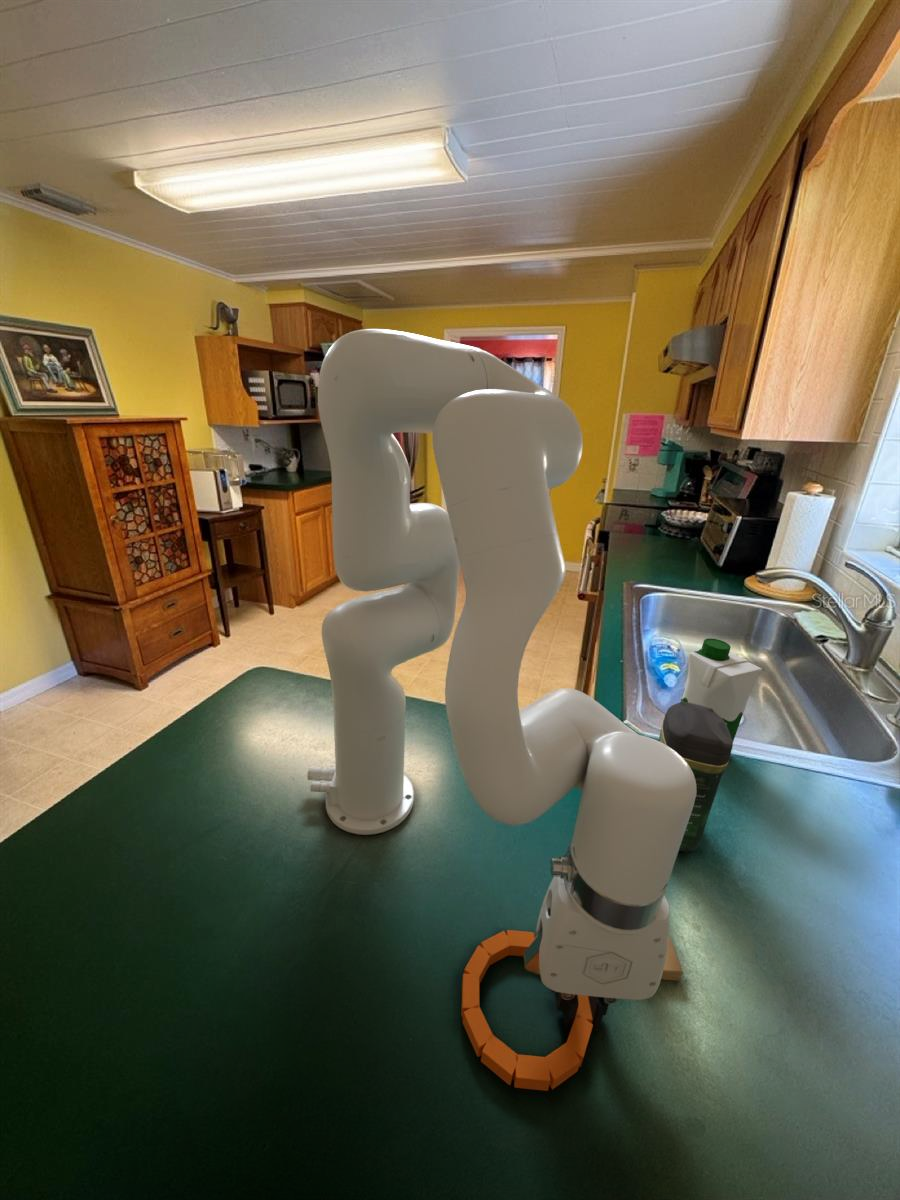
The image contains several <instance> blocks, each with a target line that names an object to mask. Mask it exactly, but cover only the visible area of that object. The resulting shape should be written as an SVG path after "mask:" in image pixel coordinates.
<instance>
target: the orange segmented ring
mask: <svg viewBox="0 0 900 1200" xmlns="http://www.w3.org/2000/svg"><path fill="white" fill-rule="evenodd" d="M536 938H537V937H536V936H535V932H533V931H523V930H512V929H507V930H506V932H505V930H502V931H501V932H498V933H496V934H495V935H493V936H490V937H489V938H486V939H485V940H482V941H481V942H480V945H479V944H478V945H477V947H476V948H475V951H474V952H473V954H472V955H471V957H470V959H469V961H468V963H467V964H466V966H465V968H464V971H463V974H462V982H461V1014H460V1016H461V1018H462V1025H463V1027H464V1029H465V1031H466V1034H467V1036H468V1039H469V1040H470V1043H471V1045H472V1047H473V1050H474V1052H475V1054H476V1057H477V1058H479V1057H480V1063H482V1064H483V1065H485V1066H486V1067H487V1068H488V1069H489V1070H491V1071H492V1072H493V1073H494V1074H495V1075H496V1076H497V1077H499V1078H500V1079H501V1080H502V1081H504V1082H505V1083H506V1085H508V1086H511V1084H512V1082H513V1087H514V1088H516V1089H524V1090H533V1091H534V1090H535V1091H543V1092H545V1091H546V1092H548V1091H549V1088H551V1090H554V1089H555V1088H556V1087H559V1086H560V1085H561V1084H562V1083H564V1082H566V1080H568V1079H569V1078H571V1077H572V1076H573V1075H574V1074H576V1073H577V1072H578V1071H579V1068H581V1067H582V1064H583V1061H584V1058H585V1054H586V1051H587V1047H588V1044H589V1040H590V1037H591V1034H592V1031H593V1030H592V1028H593V1024H592V1021H593V1019H592V1014H591V1008H590V1003H589V998H588V996H585V995H577V996H578V1002H579V1005H578V1009H577V1013H576V1017H575V1019H574V1022H573V1025H572V1026H571V1028H570V1031H569V1034H568V1037H567V1041H566V1042H565V1043H564V1044H562V1045H561V1046H559V1047H558V1048H556V1049H555V1050H553V1051H552V1052H550V1053H549V1054H547V1055H546V1056H538V1055H529V1054H528V1055H527V1054H518V1053H516V1052H515V1051H514V1050H513V1049H511V1047H509V1046H508V1045H507V1044H505V1043H504V1042H503V1041H502V1040H500V1039H499V1038H497V1036H495V1035H494V1034H493V1031H492V1029H491V1028H490V1026H489V1023H488V1022H487V1019H486V1018H485V1015H484V1013H483V1011H482V1008H481V1007H480V984H481V982H482V981H483V979H484V977H485V975H486V973H487V971H488V970H489V967H490V966H491V965H493V964H495V963H497V962H498V961H501V960H502V959H505V958H506V957H508V956H515V957H524V952H525V951H526V949H527V948H528V947H529V946H530V945H531V944H532V942H533V941H534V940H535V939H536Z"/></svg>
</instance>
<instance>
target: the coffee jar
mask: <svg viewBox="0 0 900 1200" xmlns="http://www.w3.org/2000/svg"><path fill="white" fill-rule="evenodd" d="M658 741H659V742H661V743H663V744H665V745H667V746H668V747H670V748H671V749H673V750H674V751H675V752H677V753H678V754H679V755H680V756H681V757H682V758H683V759H684V760H685V761H686V762H687V763H688V765H689V766H690V768H691V770H692V772H693V774H694V777H695V780H696V790H697V792H696V798H695V802H694V806H693V809H692V812H691V815H690V818H689V821H688V824H687V827H686V830H685V833H684V836H683V839H682V842H681V845H680V848H679V851H678V852H693V851H695V850H696V849H698V848H699V846H700V844H701V840H702V838H703V836H704V835H703V834H704V832H705V829H706V825H707V822H708V819H709V816H710V813H711V811H712V810H711V809H712V806H713V804H714V800H715V798H716V795H717V792H718V790H719V787H720V783H721V782H722V781H721V780H722V778H723V775H724V773H725V771H726V768H727V767H728V765H729V762H730V758H731V754H732V752H733V746H734V742H733V743H732V738H731V735H730V732H729V730H728V727H727V725H726V723H725V722H724V720H723V719H722V718H721V717H720V716H719V715H718V714H717V713H715V712H714V711H713V709H712V708H709V707H705V706H702V705H697V704H693V703H688V702H683V701H682V702H681V701H679V702H677V703H674V704H672V705H671V706H669V707H668V708H667V710H666V712H665V714H664V718H663V720H662V723H661V729H660V732H659V738H658Z"/></svg>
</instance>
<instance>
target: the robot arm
mask: <svg viewBox="0 0 900 1200" xmlns="http://www.w3.org/2000/svg"><path fill="white" fill-rule="evenodd" d="M317 383H318V384H317V407H318V408H317V409H318V414H319V420H320V426H321V428H322V432H323V435H324V436H323V437H324V440H325V444H326V447H327V453H328V457H329V464H330V475H331V516H332V517H331V518H332V519H331V521H332V553H333V564H334V565H333V566H334V569H335V574H336V576H337V578H338V579H339V581H340V583H341V584H342V585H343V586H344V587H346V588H347V589H349V590H351V591H355V592H373V593H370V594H365V595H361V596H357V597H354V598H350V599H348V600H346V601H343V602H341V603H339V604H337V605H336V606H334V607H333V608H332V609H330V610H329V611H328V613H326V615H325V617H324V619H323V620H322V625H321V631H320V633H321V641H322V646H323V650H324V654H325V658H326V663H327V667H328V671H329V676H330V687H331V695H332V696H331V697H332V715H333V731H334V732H333V734H334V735H333V736H334V737H333V738H334V761H335V763H334V765H332V766H330V768H329V767H323V766H316V765H315V766H313V765H311V766H309V768H308V770H307V775H306V776H307V780H308V781H312V782H311V784H310V792H313V793H314V792H315V793H325V794H326V795H325V810H326V814H327V816H328V817H329V819H330V820H331V821H332V823H333V824H334V825H335V826H337V827H338V828H339V829H341V830H343V831H345V832H347V833H351V834H355V835H362V836H363V835H364V836H367V835H368V836H369V835H376V834H380V833H384V832H387V831H389V830H391V829H392V830H393V828H395V827H397V826H399V825H400V824H401V823H402V822H403V821H404V820H406V818H407V817H408V815H409V814H410V813H411V811H412V809H413V806H414V801H415V791H414V786H413V783H412V781H411V779H409V777H408V776H407V775H406V774H405V745H406V743H405V741H406V714H407V713H406V710H407V709H406V708H407V704H406V703H407V698H406V692H405V689H404V687H403V685H402V683H401V682H400V681H399V680H398V679H397V678H396V677H394V676H393V674H392V673H393V669H395V668H396V667H397V666H399V665H401V664H404V663H406V662H408V661H410V660H413V659H415V658H418V657H420V656H423V655H426V654H428V653H431V652H433V651H435V650H437V649H439V648H441V647H442V646H444V645H445V644H446V643H447V641H448V640H449V639H450V637H451V635H452V633H453V629H454V626H455V619H456V611H457V610H456V609H457V600H458V590H459V589H458V588H459V580H460V579H459V578H460V569H461V574H462V578H463V582H464V588H465V599H464V605H463V607H462V610H461V612H460V615H459V618H458V621H457V624H456V627H455V630H454V633H453V638H452V641H451V646H450V651H449V657H448V661H447V668H446V675H445V683H444V685H445V686H444V700H445V701H444V702H445V710H446V716H447V721H448V725H449V729H450V733H451V737H452V741H453V745H454V749H455V752H456V753H455V754H456V757H457V761H458V764H459V767H460V770H461V773H462V776H463V779H464V781H465V784H466V786H467V788H468V790H469V792H470V794H471V796H472V797H473V799H474V801H475V802H476V803H477V805H478V806H479V808H480V809H482V811H483V812H484V813H485V814H487V815H488V816H489V817H490V818H492V819H493V820H495V821H497V822H499V823H501V824H504V825H509V826H521V825H525V824H529V823H531V822H533V821H535V820H537V819H538V818H540V817H541V816H542V815H544V814H545V813H546V812H548V811H549V810H550V809H551V808H552V807H554V806H556V804H557V803H559V801H561V800H562V799H563V798H565V796H567V794H568V793H570V792H571V791H572V790H573V789H574V788H577V789H578V790H580V792H581V796H580V801H579V804H578V805H579V806H578V810H577V815H576V820H575V825H574V830H573V833H572V834H573V835H572V840H571V843H569V844H568V845H567V851H566V854H564V855H563V856H560V857H559V858H557V857H551V858H550V862H549V869H550V876H551V877H553V878H552V880H551V881H550V884H549V886H548V888H547V890H546V893H545V895H544V898H543V901H542V905H541V909H540V911H539V915H538V918H537V923H536V928H535V937H537V938H536V939H535V940H534V941H533V942H532V944H531V945H530V946H529V947H528V948H527V949H526V951H525V952H524V956H523V961H524V970H526V971H527V972H530V973H532V974H535V975H538V976H540V981H541V984H543V986H545V987H546V988H547V989H549V990H551V991H554V992H555V993H554V994H555V995H554V997H555V1007H556V1011H557V1012H562V1019H563V1025H564V1028H565V1029H566V1028H567V1029H571V1028H572V1025H573V1022H574V1019H575V1017H576V1013H577V1009H578V1005H579V1002H578V996H577V995H585V996H588V998H589V1003H590V1008H591V1014H592V1019H593V1021H592V1024H593V1028H592V1031H595V1032H596V1031H597V1032H598V1031H599V1030H600V1027H601V1023H602V1020H603V1017H604V1016H606V1015H607V1012H608V1009H609V1005H614V1004H616V1003H618V1000H633V1001H639V1000H640V1001H642V1000H648V999H650V998H652V997H653V996H654V995H655V994H656V992H657V991H658V989H659V986H660V984H661V980H662V979H661V977H662V974H663V970H664V965H665V960H666V955H667V949H668V939H669V936H670V906H669V902H668V899H667V897H666V896H665V894H666V891H667V889H668V885H669V882H670V878H671V877H672V876H671V875H672V873H673V870H674V866H675V863H676V860H677V858H678V854H679V852H680V851H679V848H680V845H681V842H682V839H683V836H684V833H685V830H686V827H687V824H688V821H689V818H690V815H691V812H692V809H693V806H694V802H695V798H696V792H697V790H696V780H695V777H694V774H693V772H692V770H691V768H690V766H689V765H688V763H687V762H686V761H685V760H684V759H683V758H682V757H681V756H680V755H679V754H678V753H677V752H675V751H674V750H673V749H671V748H670V747H668V746H667V745H665V744H663V743H661V742H659V740H658V739H654V738H652V737H649V736H645V735H641V734H639V733H637V732H636V731H635V730H634V729H632V728H631V727H629V726H628V725H626V724H625V723H624V722H623V721H622V720H620V719H619V717H616V715H614V714H613V713H612V712H611V711H609V710H608V709H607V708H606V707H604V705H602V704H601V703H600V702H599V701H598V700H595V699H594V698H593V697H591V696H590V695H588V694H586V693H585V692H583V691H580V690H579V689H575V688H568V687H563V688H557V689H554V690H551V691H550V692H547V693H546V694H544V695H542V696H541V697H539V698H537V699H536V700H534V701H532V702H531V703H529V704H527V705H526V706H524V707H522V708H520V707H519V678H520V673H521V672H520V671H521V667H522V661H523V658H524V654H525V651H526V648H527V646H528V643H529V641H530V639H531V636H532V634H533V633H534V631H535V629H536V626H537V625H538V624H539V622H540V621H541V619H542V618H543V616H544V615H545V613H546V612H547V610H548V608H549V607H550V605H551V603H552V602H553V601H554V599H555V597H556V596H557V594H558V592H559V590H560V589H561V587H562V585H563V583H564V579H565V578H566V574H567V569H566V568H567V567H566V562H565V557H564V554H563V550H562V545H561V541H560V536H559V535H560V534H559V532H558V529H557V524H556V517H555V513H554V510H553V505H552V499H551V495H550V491H549V490H551V489H556V488H558V487H560V486H562V485H563V484H564V483H566V482H567V481H568V480H569V479H570V478H572V476H573V475H574V474H575V472H576V471H577V469H578V467H579V465H580V462H581V459H582V455H583V448H584V443H583V442H584V441H583V433H582V429H581V425H580V422H579V421H578V418H577V416H576V414H575V413H574V411H573V410H572V409H571V407H570V406H569V405H568V404H567V403H566V402H565V401H564V400H563V399H562V398H560V397H559V396H557V394H555V393H553V392H552V391H551V390H549V389H548V388H546V387H544V386H543V385H542V384H540V383H537V382H536V381H535V380H533V379H531V378H530V377H528V376H526V375H525V374H523V373H522V372H520V371H519V370H517V369H516V368H515V367H513V366H511V365H510V364H508V363H506V362H505V361H504V360H502V359H500V358H498V357H497V356H495V355H494V354H492V353H490V352H488V351H486V350H484V349H481V348H480V347H475V346H471V345H467V344H463V343H458V342H453V341H448V340H444V339H438V338H433V337H429V336H425V335H421V334H416V333H412V332H407V331H401V330H393V329H385V328H365V329H364V328H363V329H357V330H353V331H350V332H348V333H345V334H343V335H341V336H340V337H339V338H337V339H336V340H335V341H334V342H333V343H332V344H331V346H330V347H329V348H328V350H327V352H326V354H325V356H324V358H323V360H322V363H321V366H320V369H319V376H318V382H317ZM395 433H412V434H413V433H414V434H432V450H433V454H434V459H435V463H436V468H437V471H438V472H437V473H438V476H439V481H440V483H441V484H440V485H441V490H442V493H443V494H442V495H443V498H444V503H445V507H446V510H445V509H444V508H443V507H441V506H439V505H437V504H435V503H430V502H417V503H416V502H415V503H414V502H413V503H411V497H410V496H411V485H412V476H411V468H410V465H409V462H408V459H407V457H406V455H405V452H404V450H403V448H402V446H401V444H400V442H399V441H398V440H397V438H396V436H395V435H394V434H395ZM402 585H403V586H402ZM399 586H400V587H399ZM390 588H391V589H390ZM386 589H388V590H386ZM381 590H382V591H381ZM374 591H375V592H374ZM376 591H378V592H376ZM322 781H323V782H322ZM324 781H325V782H324Z"/></svg>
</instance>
